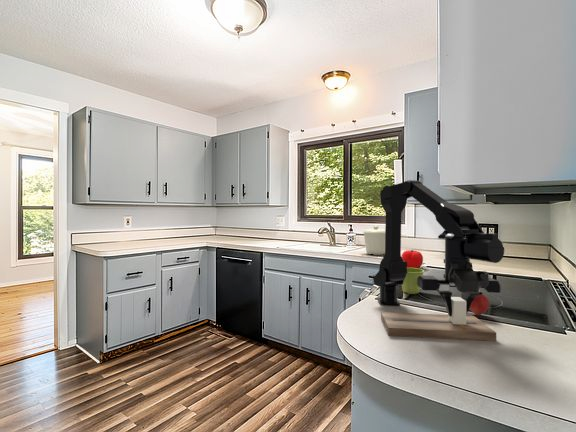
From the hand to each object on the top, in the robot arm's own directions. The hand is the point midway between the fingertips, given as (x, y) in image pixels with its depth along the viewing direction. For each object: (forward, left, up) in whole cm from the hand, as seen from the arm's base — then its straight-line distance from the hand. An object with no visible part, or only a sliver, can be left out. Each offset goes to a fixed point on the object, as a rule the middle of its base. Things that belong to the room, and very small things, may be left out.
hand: (456, 316), depth 81 cm
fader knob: (0, 0, -1) cm, 1 cm away
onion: (-13, +11, -4) cm, 17 cm away
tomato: (-90, +11, -4) cm, 90 cm away
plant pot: (-38, -2, -4) cm, 38 cm away
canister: (-143, -1, -4) cm, 143 cm away
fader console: (0, -6, -4) cm, 7 cm away
